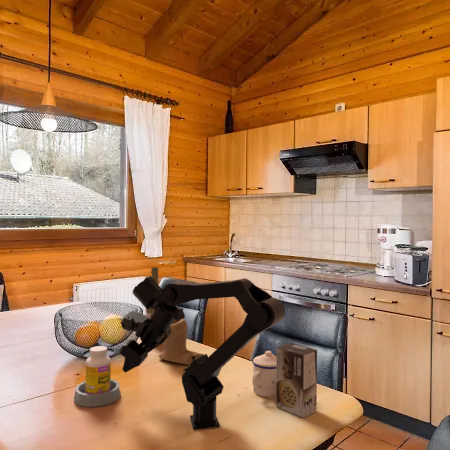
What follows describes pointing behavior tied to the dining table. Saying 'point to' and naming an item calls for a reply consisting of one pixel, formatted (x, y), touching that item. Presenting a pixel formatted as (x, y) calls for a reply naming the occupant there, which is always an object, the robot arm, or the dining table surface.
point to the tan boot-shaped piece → (178, 345)
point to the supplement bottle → (98, 371)
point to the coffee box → (296, 379)
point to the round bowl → (96, 395)
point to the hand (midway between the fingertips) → (133, 362)
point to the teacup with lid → (264, 375)
